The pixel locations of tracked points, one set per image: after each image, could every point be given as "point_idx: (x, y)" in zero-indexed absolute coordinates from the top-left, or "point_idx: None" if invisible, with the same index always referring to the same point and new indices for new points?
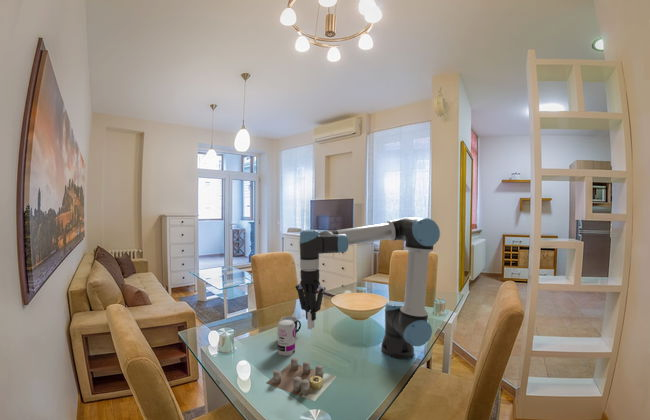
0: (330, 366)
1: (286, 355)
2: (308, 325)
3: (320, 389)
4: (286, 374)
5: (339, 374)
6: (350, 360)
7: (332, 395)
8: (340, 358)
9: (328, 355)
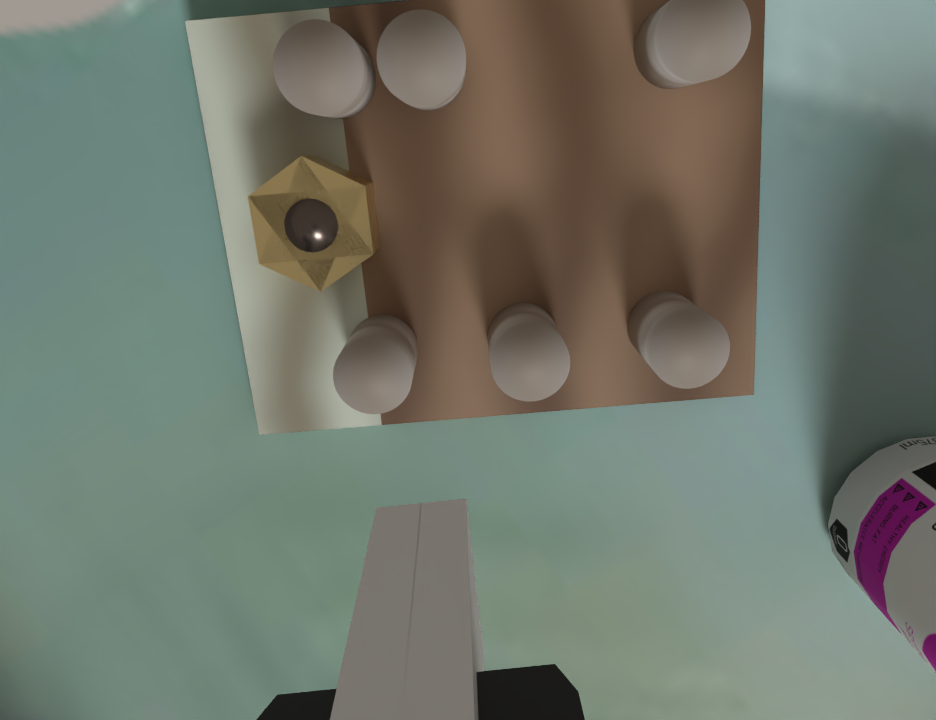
0: None
1: (874, 462)
2: (442, 545)
3: None
4: (673, 207)
5: (293, 499)
6: None
7: (159, 225)
8: None
9: None
